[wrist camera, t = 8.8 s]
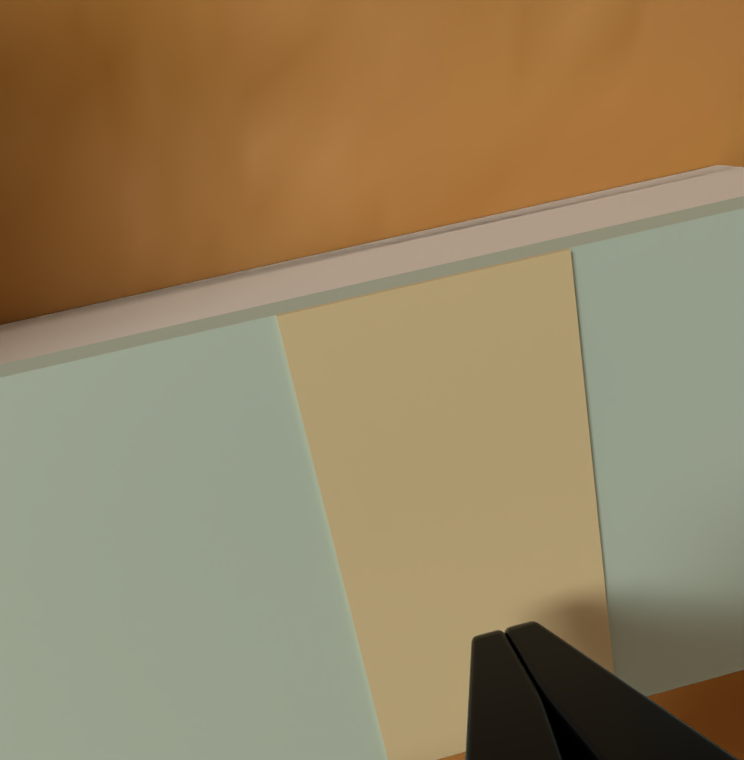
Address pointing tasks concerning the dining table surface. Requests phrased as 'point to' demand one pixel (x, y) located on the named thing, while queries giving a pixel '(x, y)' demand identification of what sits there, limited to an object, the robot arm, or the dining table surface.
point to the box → (366, 262)
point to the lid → (377, 501)
